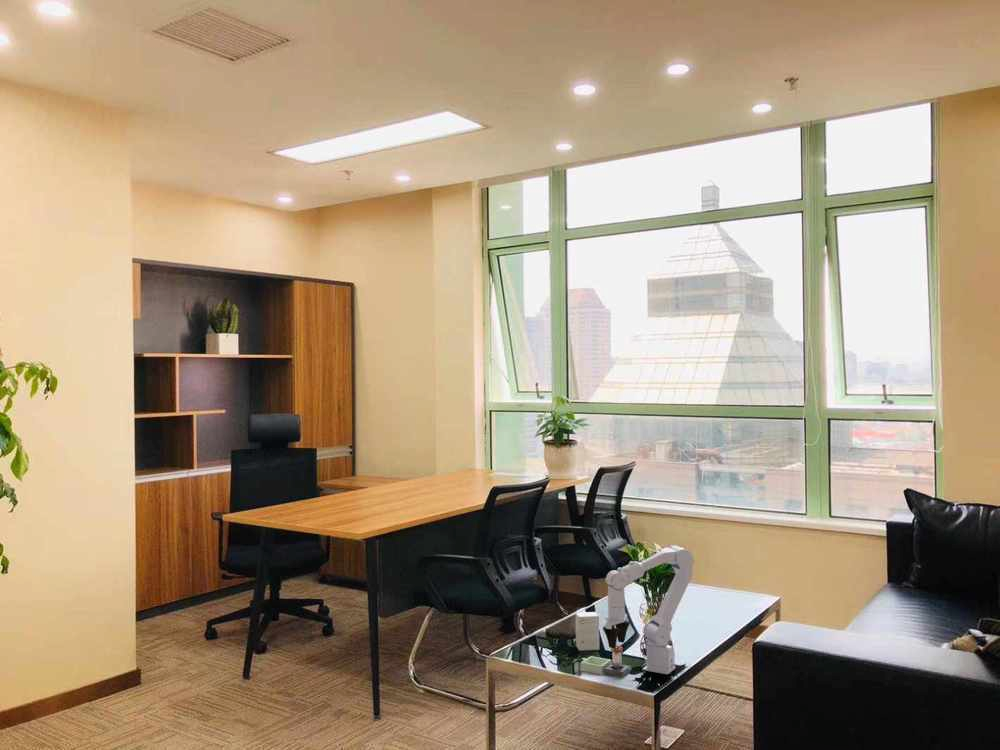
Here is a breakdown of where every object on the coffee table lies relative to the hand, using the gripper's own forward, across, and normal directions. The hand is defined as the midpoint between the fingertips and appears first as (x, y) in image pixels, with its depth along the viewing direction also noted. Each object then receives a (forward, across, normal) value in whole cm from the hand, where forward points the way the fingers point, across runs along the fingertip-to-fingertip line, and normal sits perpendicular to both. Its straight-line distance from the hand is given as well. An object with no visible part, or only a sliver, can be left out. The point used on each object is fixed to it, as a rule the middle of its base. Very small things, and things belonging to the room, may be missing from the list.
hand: (616, 644), depth 287 cm
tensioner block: (+10, 0, 0) cm, 10 cm away
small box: (+10, -21, -22) cm, 32 cm away
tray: (+10, 0, -8) cm, 13 cm away
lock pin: (+10, 0, 0) cm, 10 cm away
